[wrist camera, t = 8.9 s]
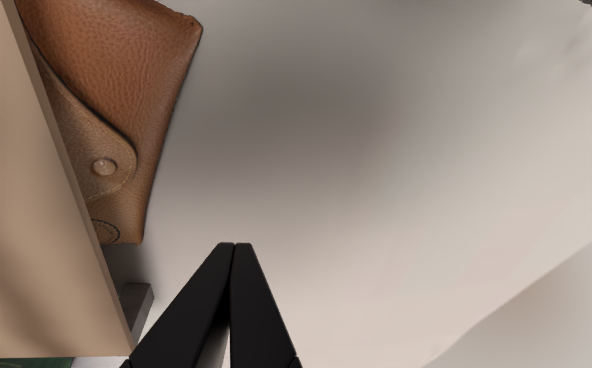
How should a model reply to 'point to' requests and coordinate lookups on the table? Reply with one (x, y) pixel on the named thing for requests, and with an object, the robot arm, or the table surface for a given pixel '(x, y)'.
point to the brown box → (50, 231)
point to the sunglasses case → (111, 96)
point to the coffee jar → (36, 362)
